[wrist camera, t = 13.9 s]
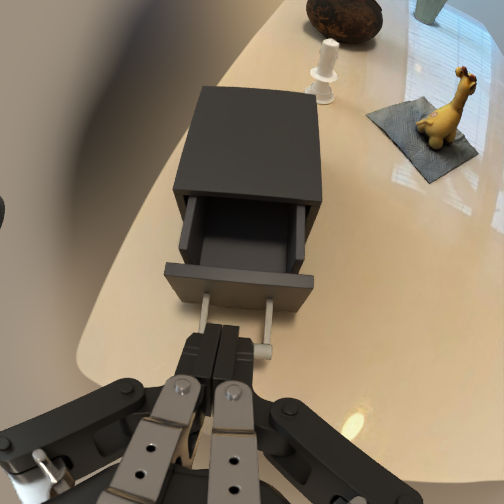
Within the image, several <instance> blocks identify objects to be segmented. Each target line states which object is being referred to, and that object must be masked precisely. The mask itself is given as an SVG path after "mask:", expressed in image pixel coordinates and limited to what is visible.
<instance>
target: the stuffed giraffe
mask: <svg viewBox="0 0 504 504" xmlns="http://www.w3.org/2000/svg"><path fill="white" fill-rule="evenodd" d="M455 72H456V76H458V77H460V78H461V80H460V82H459V84H458V88H457V92H456V94H455V97H454V99H453V101H451V102H450V103H449V104H447V105H445V106H443V107H441V108H439V109H436V108H435V107H434V106H433V105H432V104H430V103H429V102H428V101H427V99H426V98H425V97H421V98H419V99H417V100H414V101H407V102H403V103H399V104H396V105H392V106H389V107H386V108H383V109H380V110H378V111H375V112H372V113H369V114H367V116H368V118H369V119H371V120H372V121H373V122H375V123H376V124H377V125H378V126H380V127H381V128H383V130H384V131H385V132H386V133H387V135H388V136H389V137H390V138H391V139H392V140H393V141H394V142H395V143H396V144H397V145H398V146H399V147H400V148H401V149H402V150H403V152H404V153H405V154H406V155H407V156H408V157H409V159H411V161H412V163H413V165H414V166H415V167H416V168H417V169H418V170H419V171H420V172H421V174H422V175H423V176H424V178H426V180H427V181H428V182H429V183H431V182H433V181H434V180H436V179H437V178H439V177H440V176H442V175H444V174H445V173H447V172H448V171H450V170H451V169H453V168H454V167H456V166H458V165H459V164H461V163H463V162H464V161H466V160H468V159H470V158H471V157H473V156H475V155H477V154H479V153H478V152H477V151H476V150H475V148H474V147H472V146H471V145H470V143H469V142H468V141H467V140H466V138H465V135H464V134H462V133H461V132H460V131H459V130H458V129H457V126H458V124H459V122H460V119H461V116H462V112H463V107H464V105H465V103H466V101H467V98H468V95H472V94H473V93H474V92H475V89H476V85H477V83H476V81H477V79H476V77H475V76H474V75H473V74H471V73H468V71H467V68H466V67H465V66H462V68H461V67H458V68H456V71H455Z"/></svg>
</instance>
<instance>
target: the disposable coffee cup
mask: <svg viewBox="0 0 504 504" xmlns="http://www.w3.org/2000/svg"><path fill="white" fill-rule="evenodd" d="M446 1H448V0H417V4H416V9H415V14H414V15H415V18H416V19H418V20H419V21H421V22H423V23H425V24H428V25H431V24H432V23H433V21H434V20H435V18H436V17H437V15H438V14H439V12H440V11H441V9H442V8H443V6H444V5H445V3H446Z"/></svg>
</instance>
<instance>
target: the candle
mask: <svg viewBox="0 0 504 504" xmlns="http://www.w3.org/2000/svg"><path fill="white" fill-rule="evenodd" d="M338 49H339V43H338V42H336V41H335V40H333V38H332V39H326V40H324V41H323V43H322V47H321V49H320V59H319V64H318V67H315V68H312V69H311V71H310V74H311V75H312V77H313V78H315V79H317V80H316V82H315V83H312V84H311V85H310V86H309V87H307V88H306V89H305V92H304V93H307V94H314V95H316V101H317V103H318V104H329V103H331V102H333V101H334V94H333V93H332V90H331V88H330V87H329V84H328V83H331V82H335V81H337V79H338V75H337V74H336V73H335V72H334V71H333V69H334V65H335V61H336V59H337V57H338V56H337V55H338Z"/></svg>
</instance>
